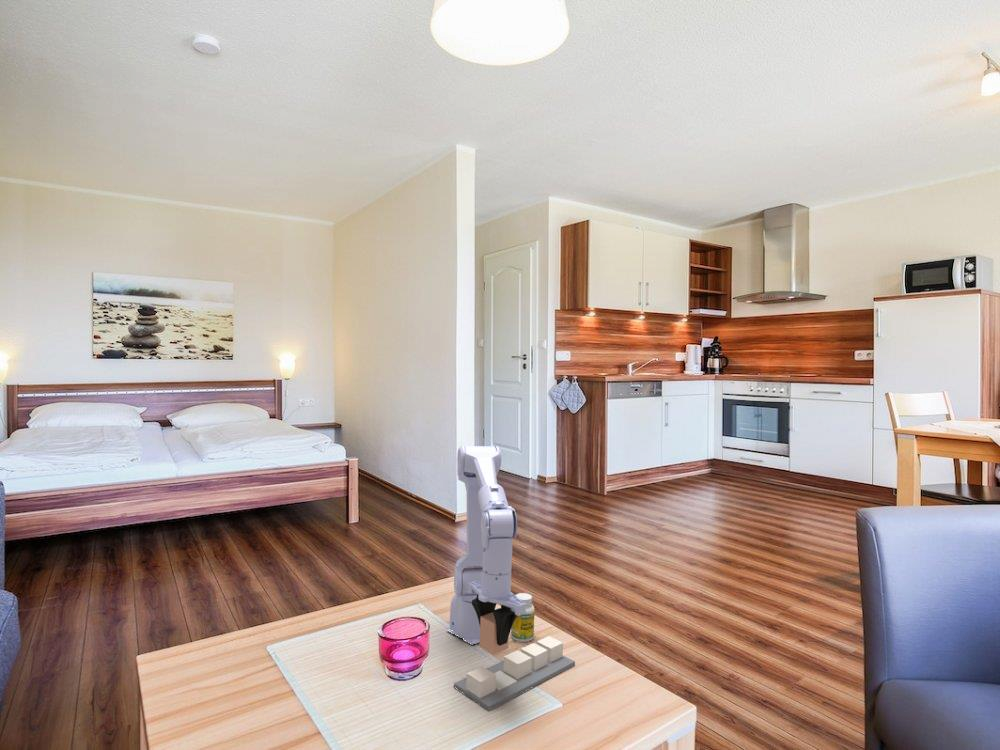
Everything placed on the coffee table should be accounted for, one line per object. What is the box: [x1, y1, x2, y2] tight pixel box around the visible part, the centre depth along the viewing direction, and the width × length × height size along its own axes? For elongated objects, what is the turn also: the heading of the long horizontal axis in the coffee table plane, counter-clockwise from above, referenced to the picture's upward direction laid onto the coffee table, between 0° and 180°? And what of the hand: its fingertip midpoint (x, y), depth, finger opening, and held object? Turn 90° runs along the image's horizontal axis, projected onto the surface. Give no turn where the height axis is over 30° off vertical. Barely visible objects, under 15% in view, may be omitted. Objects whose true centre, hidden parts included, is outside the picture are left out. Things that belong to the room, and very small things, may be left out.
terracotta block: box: [478, 612, 510, 655], centre depth 110 cm, size 4×4×6 cm
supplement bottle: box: [510, 592, 536, 643], centre depth 130 cm, size 5×5×10 cm
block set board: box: [453, 635, 576, 712], centre depth 113 cm, size 10×25×4 cm, turn 134°
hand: (494, 639), depth 110 cm, fingers closed on terracotta block, 4 cm apart
